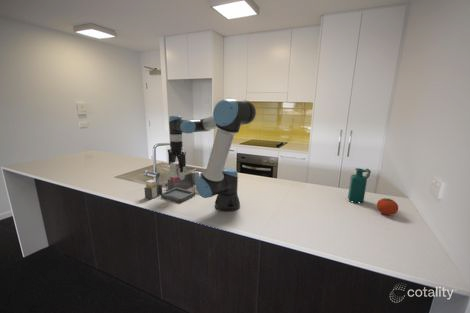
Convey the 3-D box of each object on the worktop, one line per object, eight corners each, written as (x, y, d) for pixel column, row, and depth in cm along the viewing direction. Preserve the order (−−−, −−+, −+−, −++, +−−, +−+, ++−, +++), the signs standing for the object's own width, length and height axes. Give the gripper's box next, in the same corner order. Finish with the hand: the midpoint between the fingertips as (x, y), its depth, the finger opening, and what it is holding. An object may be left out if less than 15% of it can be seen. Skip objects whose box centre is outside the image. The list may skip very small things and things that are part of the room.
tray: (195, 195, 146) (195, 192, 145) (180, 203, 134) (180, 199, 133) (176, 190, 154) (176, 187, 153) (161, 197, 142) (160, 193, 141)
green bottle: (349, 202, 140) (353, 169, 136) (347, 197, 148) (351, 166, 143) (366, 204, 137) (371, 171, 132) (363, 199, 145) (368, 168, 140)
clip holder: (174, 189, 156) (173, 174, 154) (150, 199, 138) (149, 183, 136) (169, 188, 159) (168, 173, 156) (145, 198, 141) (143, 181, 138)
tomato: (371, 209, 130) (374, 194, 128) (388, 210, 130) (391, 194, 128) (382, 218, 120) (385, 201, 118) (401, 218, 120) (404, 201, 118)
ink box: (175, 182, 137) (174, 164, 134) (170, 181, 139) (169, 163, 137) (185, 178, 144) (184, 161, 142) (179, 177, 146) (178, 160, 144)
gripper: (191, 141, 135) (192, 177, 140) (170, 138, 143) (171, 172, 148) (183, 142, 129) (184, 180, 134) (161, 140, 137) (163, 175, 142)
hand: (177, 176), depth 141 cm, fingers closed on ink box, 5 cm apart
